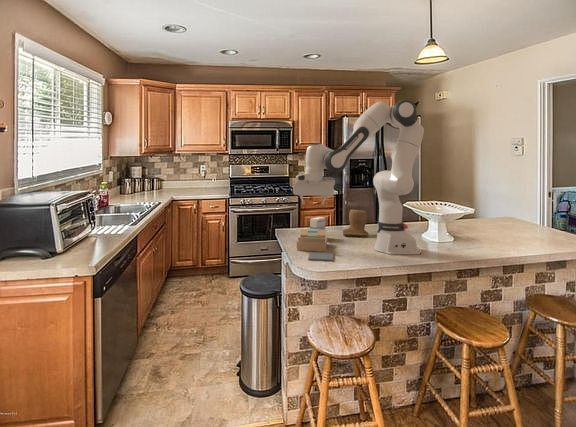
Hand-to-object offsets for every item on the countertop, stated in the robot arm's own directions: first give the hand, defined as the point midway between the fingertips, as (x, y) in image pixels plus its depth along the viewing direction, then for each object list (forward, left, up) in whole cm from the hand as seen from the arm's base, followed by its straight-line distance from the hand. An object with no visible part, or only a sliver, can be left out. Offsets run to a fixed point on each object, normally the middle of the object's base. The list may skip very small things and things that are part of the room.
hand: (312, 204), depth 193 cm
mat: (-5, +18, -22) cm, 29 cm away
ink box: (-2, -18, -22) cm, 29 cm away
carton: (0, 0, -22) cm, 22 cm away
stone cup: (-23, -31, -22) cm, 45 cm away
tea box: (0, 0, -22) cm, 22 cm away
